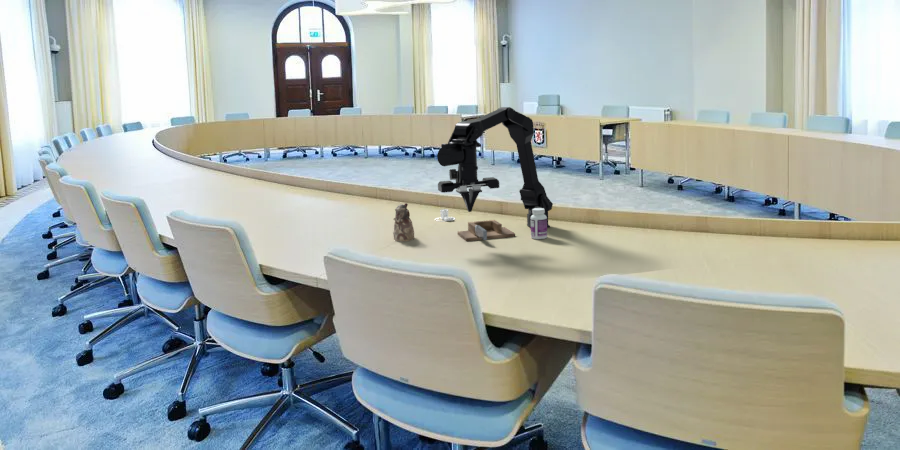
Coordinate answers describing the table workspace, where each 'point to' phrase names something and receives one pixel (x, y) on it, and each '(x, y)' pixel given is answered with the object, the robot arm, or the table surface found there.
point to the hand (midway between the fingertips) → (469, 211)
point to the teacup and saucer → (445, 215)
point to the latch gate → (480, 232)
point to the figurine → (403, 224)
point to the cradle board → (490, 226)
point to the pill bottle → (538, 224)
